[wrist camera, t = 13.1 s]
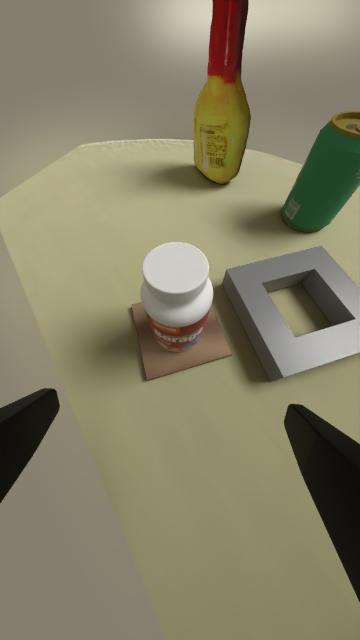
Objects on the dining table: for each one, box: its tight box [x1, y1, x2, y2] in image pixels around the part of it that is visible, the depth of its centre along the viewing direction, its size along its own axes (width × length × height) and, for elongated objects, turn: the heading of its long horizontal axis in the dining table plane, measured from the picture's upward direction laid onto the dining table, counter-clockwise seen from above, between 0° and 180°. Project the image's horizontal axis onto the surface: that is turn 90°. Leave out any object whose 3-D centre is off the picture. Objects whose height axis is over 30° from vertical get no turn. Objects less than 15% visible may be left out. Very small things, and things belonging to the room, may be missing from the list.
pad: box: [132, 302, 232, 381], centre depth 23 cm, size 10×10×1 cm
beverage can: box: [282, 111, 360, 232], centre depth 27 cm, size 8×8×12 cm
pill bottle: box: [141, 242, 213, 352], centre depth 18 cm, size 6×6×11 cm
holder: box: [222, 246, 360, 382], centre depth 23 cm, size 14×14×3 cm
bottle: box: [193, 0, 251, 184], centre depth 30 cm, size 12×6×20 cm, turn 35°
